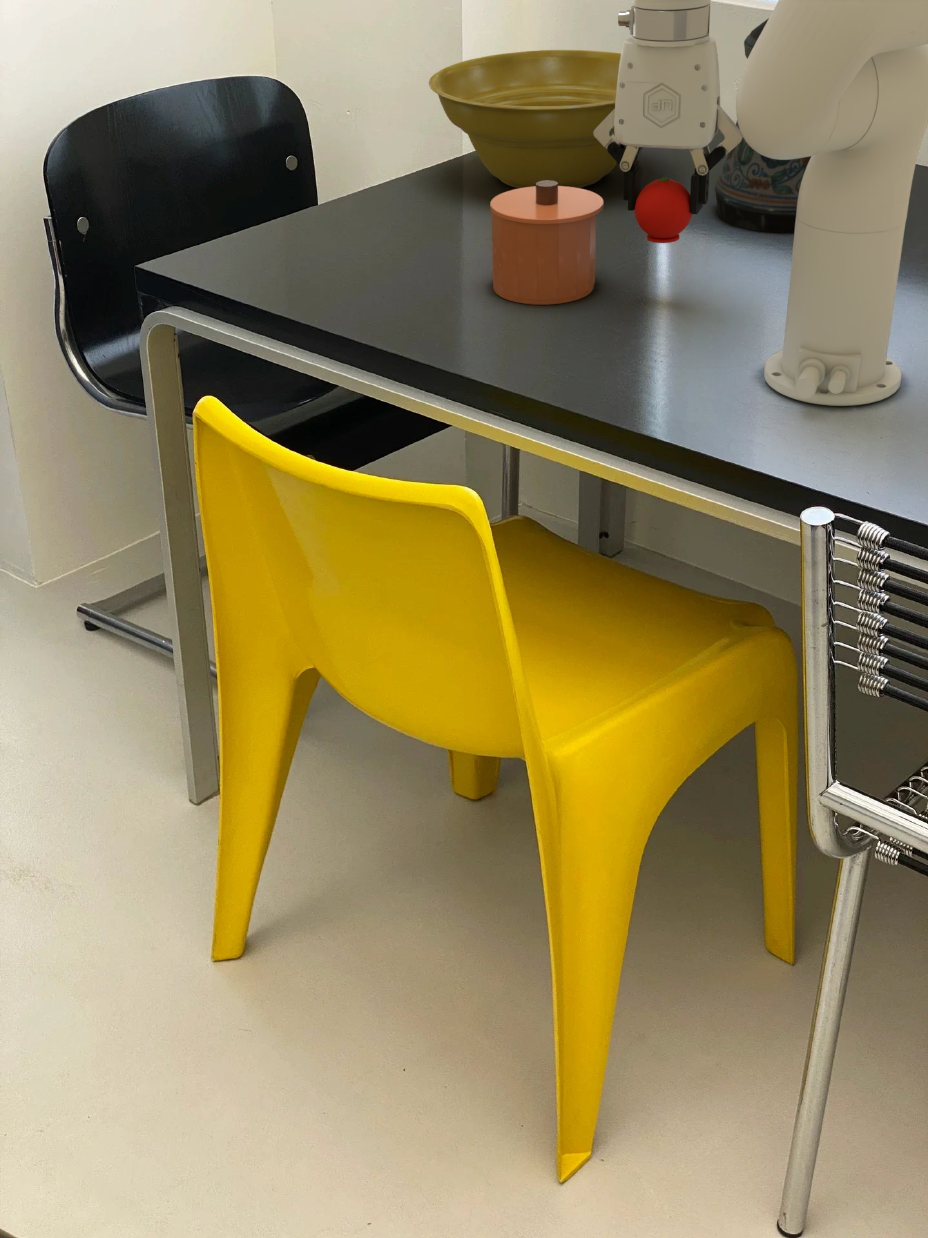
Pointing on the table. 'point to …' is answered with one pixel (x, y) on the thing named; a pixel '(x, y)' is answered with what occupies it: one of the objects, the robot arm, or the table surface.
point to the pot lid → (547, 204)
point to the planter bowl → (534, 113)
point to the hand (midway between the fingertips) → (665, 207)
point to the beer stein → (759, 182)
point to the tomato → (663, 210)
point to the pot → (543, 260)
